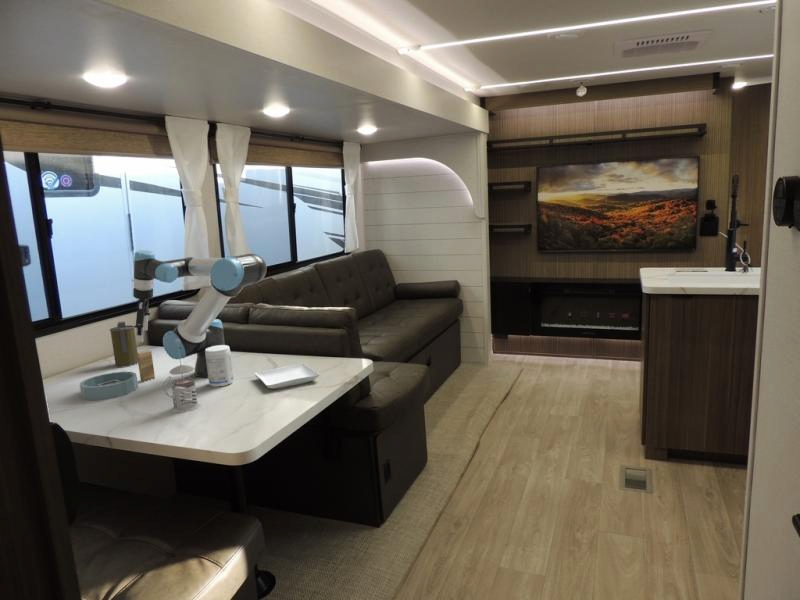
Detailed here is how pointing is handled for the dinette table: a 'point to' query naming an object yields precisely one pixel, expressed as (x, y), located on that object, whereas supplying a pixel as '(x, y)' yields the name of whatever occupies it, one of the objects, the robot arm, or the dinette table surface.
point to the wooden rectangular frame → (145, 365)
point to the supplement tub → (219, 365)
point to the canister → (124, 345)
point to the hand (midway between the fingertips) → (141, 335)
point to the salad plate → (287, 376)
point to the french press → (187, 385)
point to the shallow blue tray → (108, 385)
